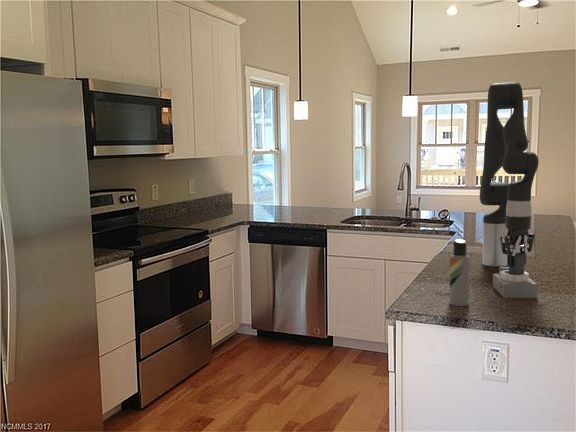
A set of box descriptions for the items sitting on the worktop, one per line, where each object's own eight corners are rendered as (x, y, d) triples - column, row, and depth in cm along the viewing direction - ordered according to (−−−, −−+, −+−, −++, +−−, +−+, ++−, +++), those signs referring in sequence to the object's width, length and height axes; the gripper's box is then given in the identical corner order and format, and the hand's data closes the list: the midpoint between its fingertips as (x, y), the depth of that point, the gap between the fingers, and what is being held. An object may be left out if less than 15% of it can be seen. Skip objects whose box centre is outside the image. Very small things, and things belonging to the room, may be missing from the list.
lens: (505, 276, 180) (506, 253, 179) (515, 275, 182) (516, 251, 181) (517, 279, 176) (518, 255, 175) (526, 278, 178) (528, 254, 177)
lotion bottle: (465, 300, 172) (466, 238, 169) (471, 306, 166) (472, 241, 164) (447, 301, 172) (447, 238, 169) (453, 306, 166) (454, 241, 164)
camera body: (491, 286, 188) (491, 266, 187) (523, 286, 187) (523, 266, 186) (501, 297, 174) (502, 276, 173) (536, 298, 173) (537, 276, 172)
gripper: (523, 211, 183) (521, 261, 185) (493, 214, 177) (491, 266, 179) (543, 213, 177) (541, 265, 179) (512, 217, 170) (510, 270, 172)
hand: (516, 265), depth 179 cm, fingers closed on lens, 4 cm apart
